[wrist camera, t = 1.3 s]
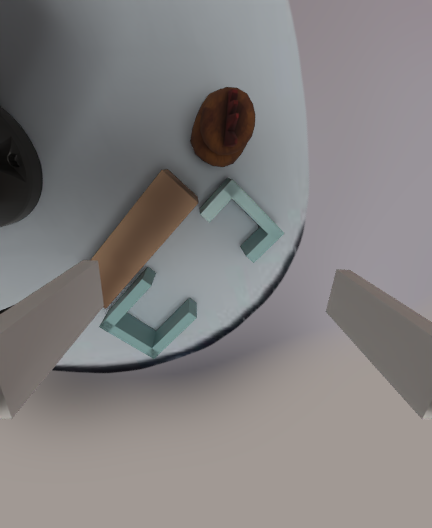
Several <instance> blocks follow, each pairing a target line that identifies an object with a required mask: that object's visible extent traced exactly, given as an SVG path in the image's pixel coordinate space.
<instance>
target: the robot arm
mask: <svg viewBox="0 0 432 528" xmlns="http://www.w3.org/2000/svg"><path fill="white" fill-rule="evenodd" d="M41 189H42V172H41V167H40V163H39V159H38V156H37V154H36V151H35V149H34V147H33V145H32V143H31V141H30V140H29V138H28V136H27V135H26V133H25V132H24V131H23V129H22V128H21V127H20V125H19V124H18V123H17V122H16V121H15V120H14V119H13V118H12V117H11V116H10V115H9V114H8V113H7V112H6V111H5V110H4V109H2V108H1V107H0V227H3V226H6V225H9V224H12V223H15V222H17V221H20V220H21V219H23V218H24V217H26V216H27V215H28V214H29V213H30V212H31V211H32V210H33V209H34V207H35V206H36V204H37V202H38V200H39V197H40V194H41ZM103 306H104V303H103V295H102V288H101V280H100V272H99V265H98V261H94V260H83V261H81V262H80V263H78V264H76V265H75V266H73V267H72V268H70V269H69V270H67V271H66V272H64V273H63V274H61V275H60V276H58V277H57V278H55V279H54V280H52V281H51V282H49V283H47V284H46V285H44V286H43V287H41V288H40V289H38V290H37V291H35V292H34V293H32V294H31V295H29V296H28V297H26V298H25V299H23V300H21V301H20V302H18V303H17V304H15V305H13V306H11V307H8V308H6V309H3V310H1V311H0V419H12V418H13V417H14V416H15V414H16V413H17V412H18V411H19V409H20V408H21V407H22V406H23V404H24V403H25V402H26V401H27V399H28V398H29V397H30V396H31V395H32V394H33V392H34V391H35V390H36V389H37V387H38V386H39V385H40V384H41V382H42V381H43V380H44V379H45V378H46V376H47V375H48V374H49V373H50V371H51V370H52V369H53V368H54V367H55V365H56V364H57V363H58V362H59V360H60V359H61V358H62V357H63V355H64V354H65V353H66V352H67V351H68V349H69V348H70V347H71V346H72V344H73V343H74V342H75V341H76V339H77V338H78V337H79V336H80V335H81V333H82V332H83V331H84V330H85V328H86V327H87V326H88V325H89V324H90V322H91V321H92V320H93V319H94V317H95V316H96V315H97V314H98V312H99V311H100V310H101V309H102V308H103ZM326 312H327V314H328V315H329V316H330V317H331V318H332V319H333V320H334V321H335V322H336V323H337V325H338V326H339V327H340V328H341V329H342V330H343V331H344V333H345V334H346V335H347V336H348V337H349V338H350V339H351V340H352V341H353V343H354V344H355V345H356V346H357V347H358V348H359V349H360V350H361V352H362V353H363V354H364V355H365V356H366V357H367V358H368V359H369V360H370V362H372V364H373V365H374V366H375V367H376V368H377V369H378V370H379V371H380V373H381V374H382V375H383V376H384V377H385V378H386V379H387V381H389V383H390V384H391V385H392V386H393V387H394V388H395V390H396V391H397V392H398V393H399V394H400V395H401V396H402V397H403V398H404V400H405V401H406V402H407V403H408V404H409V405H410V406H411V407H412V409H413V410H414V411H415V412H416V413H417V414H418V415H419V416H420V417H421V419H432V322H431V321H429V320H427V319H426V318H424V317H422V316H421V315H420V314H418V313H416V312H415V311H413V310H412V309H410V308H409V307H407V306H406V305H404V304H402V303H401V302H399V301H398V300H396V299H395V298H393V297H391V296H390V295H388V294H387V293H385V292H383V291H382V290H380V289H379V288H377V287H375V286H374V285H373V284H371V283H369V282H368V281H366V280H365V279H363V278H362V277H360V276H358V275H357V274H355V273H353V272H352V271H351V270H339V269H338V270H336V273H335V277H334V282H333V285H332V289H331V294H330V297H329V301H328V305H327V309H326Z"/></svg>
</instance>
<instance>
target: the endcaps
mask: <svg viewBox="0 0 432 528" xmlns="http://www.w3.org/2000/svg"><path fill="white" fill-rule="evenodd" d="M231 199H233V200H234V201H235V202H236V203H237V204H238V205H239V206H240V207H241V208H242V209H243V210H244V211H245V212H246V213H247V214H248V215H249V216H250V217H251V218H252V219H253V220H254V221H255V222H256V223H257V224H258V225H259V226H260V227H259V228H258V229H257V230H256V231H255V232H254V233H253V234H252V235H251V236H250V237H249V238H248V239H247V240H246V241H245V242H244V243H243V244H242V245H241V246H240V247H241V248H242V250H243V252H244V253H245V255H246V257H248V258H249V259H250V260H251V261H252V262H253V263H254V262H255V261H256V260H257V259H258V258H259V257H260V256H262V255H263V254H264V253H265V252H266V251H267V250H268V249H269V248H270V247H271V246H272V245H273V244H274V243H275V242H276V241H277V240H278V239H279V238H280V237H281V236H282V235H283V234H284V232H283V231H282V230H281V229H280V228H279V227H278V226H277V225H276V224H275V223H274V222H273V221H272V220H271V219H270V218H269V217H268V216H267V215H266V214H265V213H264V212H263V211H262V210H261V208H260V207H259V206H258V205H257V204H256V203H255V202H254V201H253V200H252V199H251V198H250V197H249V196H248V195H247V194H246V193H245V192H244V191H243V190H242V189H241V188H240V187H239V186H238V185H237V184H236V183H235V181H234V180H233V179H230V178H227V179H226V180H225V181H224V182H223V183H222V184H221V186H220V187H219V188H218V189H217V190H216V191H215V192H214V193H213V195H212V196H211V197H210V198H209V199H208V200H207V201H206V202H205V203H204V205H203V206H202V207H201V208H200V215H201V216H202V217H204V218H205V219H206V220H207V221H208V222H209V223H210V222H211V221H212V219H213V218H214V217H215V216H216V215H217V214H218V213H219V212H220V211H221V210H222V209H223V208H224V206H225V205H226V204H227V203H228V202H229V201H230V200H231ZM155 274H156V273H155V272H154V271H152V270H151V269H150V268H148V267H147V268H146V270H145V271H144V272H143V273H142V274H141V275H140V276H139V277H138V278H137V280H136V281H135V282H134V283H133V284H132V285H131V286H130V287H129V289H128V290H127V291H126V292H125V293H124V294H123V295H122V296H121V297H120V299H119V300H118V301H117V302H116V303H115V304H114V305H113V306H112V308H111V309H110V310H109V311H108V313H107V314H106V316H105V318H104V319H103V321H102V323H101V324H100V326H99V327H100V328H102V329H104V330H105V331H107V332H109V333H110V334H112V335H114V336H116V337H117V338H119V339H121V340H122V341H124V342H126V343H128V344H129V345H131V346H133V347H134V348H136V349H138V350H140V351H141V352H143V353H145V354H146V355H148V356H150V357H152V358H153V359H154V358H155V357H156V356H158V355H159V354H160V353H161V352H162V351H163V350H164V349H165V348H166V347H167V346H168V345H169V344H170V343H171V342H172V341H173V340H174V339H175V338H176V337H177V336H178V335H179V334H180V333H181V332H182V331H184V330H185V329H186V328H187V327H188V326H189V325H190V324H191V323H192V322H193V321H194V320H195V319H196V318H197V305H196V302H195V301H193V300H192V299H190V298H189V299H188V300H187V301H186V302H185V303H184V304H183V305H182V306H181V307H180V308H179V309H178V310H177V311H176V312H175V313H174V314H173V315H172V316H171V317H170V318H169V319H168V320H167V321H166V322H165V323H164V324H163V325H162V326H161V327H160V328H159V329H158V330H157V331H155V330H154V329H152V328H151V327H149V326H147V325H146V324H144V323H143V322H141V321H139V320H138V319H136V318H135V317H133V316H132V315H130V314H128V313H127V312H128V310H129V309H130V308H131V307H132V306H133V305H134V304H135V303H136V302H137V301H138V300H139V299H140V297H141V296H142V295H143V294H144V293H145V292H146V291H147V290H148V289H149V288H150V287H151V285H152V282H153V280H154V277H155Z"/></svg>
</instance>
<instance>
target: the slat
mask: <svg viewBox="0 0 432 528" xmlns="http://www.w3.org/2000/svg"><path fill="white" fill-rule="evenodd" d="M197 204H198V197H197V196H196V195H195V194H194V193H193V192H192V191H191V190H190V189H189V188H188V187H187V186H185V185H184V184H183V183H182V182H181V181H180V180H179V179H178V178H177V177H176V176H175V175H174V174H172V173H171V172H170V171H169V170H168V169H165V170H161V172H160V173H159V174H158V175H157V177H156V178H155V179H154V180H153V182H152V183H151V184H150V186H149V187H148V188H147V189H146V191H145V192H144V193H143V194H142V196H141V197H140V198H139V199H138V201H137V202H136V203H135V205H134V206H133V207H132V208H131V210H130V211H129V212H128V213H127V215H126V216H125V217H124V218H123V220H122V221H121V222H120V223H119V225H118V226H117V227H116V229H115V230H114V231H113V232H112V234H111V235H110V236H109V237H108V239H107V240H106V241H105V242H104V244H103V245H102V246H101V248H100V249H99V250H98V251H97V253H96V254H95V255H94V256H93V258H92V259H91V260H94V261H98V265H99V272H100V280H101V288H102V295H103V303H104V306H103V307H104V308H107V307H108V306H109V305H110V303H111V302H112V301H113V300H114V299H115V298H116V297H117V295H118V294H119V293H120V292H121V291H122V290H123V289H124V287H125V286H126V285H127V284H128V283H129V282H130V281H131V279H132V278H133V277H134V276H135V275H136V274H137V273H138V271H139V270H140V269H141V268H142V267H143V266H144V264H145V263H146V262H147V261H148V260H149V259H150V258H151V256H152V255H153V254H154V253H155V252H156V251H157V250H158V248H159V247H160V246H161V245H162V244H163V243H164V242H165V240H166V239H167V238H168V237H169V236H170V235H171V234H172V232H173V231H174V230H175V229H176V228H177V227H178V226H179V224H180V223H181V222H182V221H183V220H184V219H185V218H186V216H187V215H188V214H189V213H190V212H191V211H192V210H193V208H194V207H195V206H196V205H197Z"/></svg>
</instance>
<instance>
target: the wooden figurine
mask: <svg viewBox="0 0 432 528" xmlns="http://www.w3.org/2000/svg"><path fill="white" fill-rule="evenodd" d="M254 127H255V112H254V107H253V103H252V102H251V100H250V98H249V96H248V95H247V93H245V92H243V91H241V90H240V89H238V88H232V87H225V88H223V89H219V90H217V91H215V92H213V93H210V94H209V95H208V96H207V98H206V99H205V101H204V102H203V104H202V105H201V107H200V110H199V112H198V114H197V116H196V119H195V122H194V125H193V128H192V134H191V140H190V142H191V144H192V147H193V149H194V152H195V154H196V155H197V156H199V157H200V158H201V159H202V160H203V161H205V162H207V163H208V164H210V165H212V166H218V167H225V166H228V165H230V164H233V163H234V162H235V161H236V160H237V158H238V157H239V156H240V155H241V153H242V152H243V150H244V148H245V146H246V145H247V142H248V141H249V140H250V138H251V137H252V133H253V130H254Z"/></svg>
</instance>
